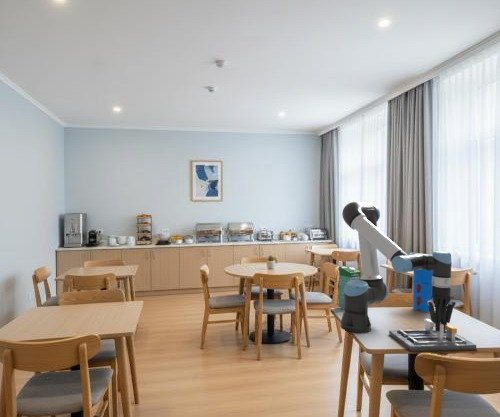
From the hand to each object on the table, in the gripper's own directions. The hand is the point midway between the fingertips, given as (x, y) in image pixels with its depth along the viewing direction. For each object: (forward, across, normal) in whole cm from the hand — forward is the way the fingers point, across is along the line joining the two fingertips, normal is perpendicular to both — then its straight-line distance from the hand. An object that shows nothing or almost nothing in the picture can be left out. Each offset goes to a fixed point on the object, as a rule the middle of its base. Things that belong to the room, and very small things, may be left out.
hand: (439, 338), depth 164 cm
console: (+3, -2, +4) cm, 6 cm away
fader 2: (+1, +5, 0) cm, 5 cm away
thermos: (+4, +25, +55) cm, 60 cm away
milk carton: (+4, -19, +60) cm, 64 cm away
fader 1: (+1, 0, +9) cm, 9 cm away
